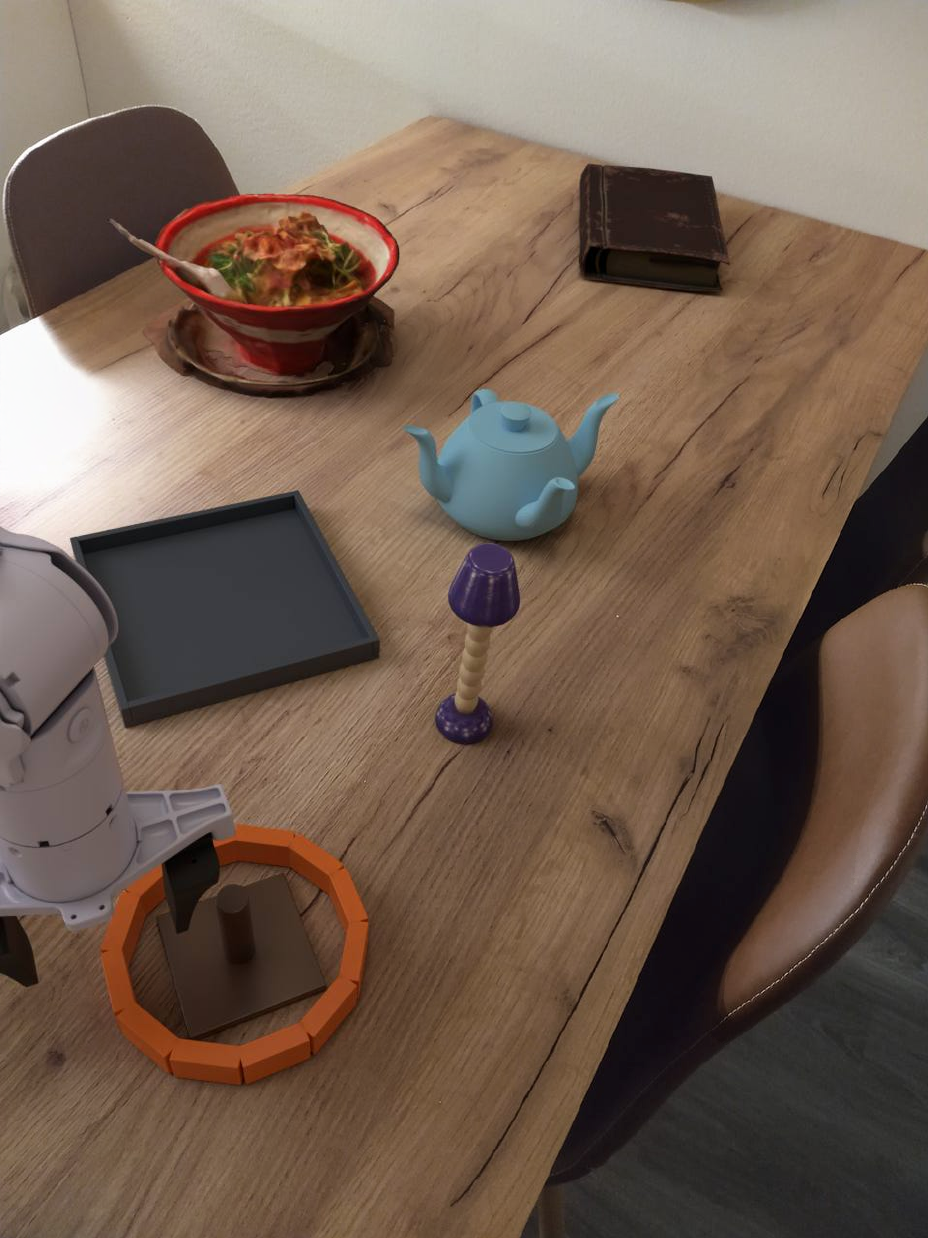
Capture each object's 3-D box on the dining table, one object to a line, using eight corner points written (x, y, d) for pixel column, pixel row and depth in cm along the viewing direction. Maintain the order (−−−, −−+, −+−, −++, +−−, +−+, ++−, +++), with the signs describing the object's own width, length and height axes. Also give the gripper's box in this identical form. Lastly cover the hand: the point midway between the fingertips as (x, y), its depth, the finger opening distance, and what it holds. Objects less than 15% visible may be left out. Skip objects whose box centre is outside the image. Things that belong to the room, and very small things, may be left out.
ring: (142, 1128, 54) (136, 1111, 52) (87, 893, 63) (80, 873, 61) (402, 1020, 59) (404, 1001, 57) (317, 818, 68) (316, 797, 66)
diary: (576, 280, 125) (583, 240, 122) (576, 196, 143) (582, 159, 139) (727, 297, 125) (738, 259, 122) (709, 212, 143) (718, 175, 139)
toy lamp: (509, 720, 75) (541, 551, 64) (476, 761, 72) (502, 592, 61) (455, 690, 77) (476, 520, 65) (420, 730, 74) (435, 558, 62)
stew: (130, 424, 97) (102, 263, 86) (134, 298, 113) (111, 149, 102) (421, 410, 103) (430, 258, 91) (384, 293, 119) (389, 151, 107)
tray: (125, 728, 72) (120, 710, 70) (74, 556, 84) (69, 537, 82) (379, 657, 79) (380, 639, 77) (299, 507, 90) (298, 489, 89)
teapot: (464, 439, 100) (473, 345, 93) (609, 487, 96) (630, 393, 89) (396, 523, 90) (400, 426, 83) (555, 580, 86) (574, 483, 79)
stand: (190, 1043, 57) (177, 990, 52) (156, 921, 62) (141, 863, 57) (326, 989, 60) (325, 935, 55) (284, 877, 65) (279, 818, 60)
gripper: (-126, 929, 39) (-34, 1068, 49) (244, 811, 44) (262, 958, 54) (-137, 787, 43) (-51, 941, 53) (201, 694, 49) (225, 850, 58)
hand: (105, 941), depth 54 cm, fingers open, 7 cm apart
